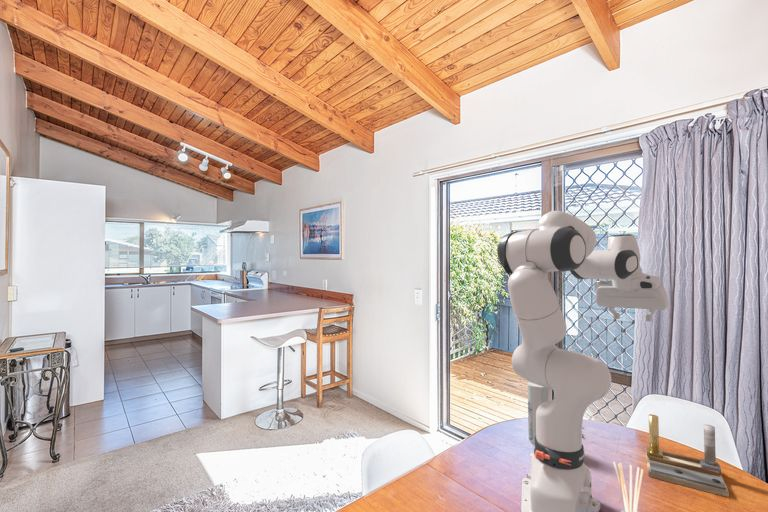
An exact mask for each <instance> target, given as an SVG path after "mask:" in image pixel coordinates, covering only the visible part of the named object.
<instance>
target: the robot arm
mask: <svg viewBox="0 0 768 512" xmlns="http://www.w3.org/2000/svg"><path fill="white" fill-rule="evenodd" d="M596 244H597V235H596V232H595V230H594V229H593V228H592V227H591V226H590V225H589V224H588V223H586V222H585V221H583V219H580V218H578V217H577V216H575V215H572V214H570V213H569V212H564V211H561V210H550V211H548V212H546V213H545V214H543V215H542V216H541V217H540V218H539V220H538V222H537V223H536V228H535V229H527V230H522V231H513V232H510V233H507V234H505V235H503V236H501V238H500V240H499V242H498V245H497V249H496V251H497V253H496V254H497V258H498V260H499V263H500V264H501V267H502V268H503V270H504V271H505V273H506V274H507V275H508V276H509V277H508V280H507V289H508V296H509V301H510V303H511V309H512V311H513V314H514V316H515V319H516V322H517V323H516V324H518V325H517V326H518V329H519V331H520V334H521V344H519V345H518V346H517V347H516V348H515V349H514V350H513V353H512V355H511V367H512V369H513V371H514V373H515V374H516V375H517V376H518V377H520V378H522V379H523V380H526V381H527V382H531V383H534V384H537V385H540V386H543V387H547V388H548V389H551V390H552V391H553V394H554V395H553V399H552V400H548V401H547V402H544V403H542V404H541V405H540V406H539V407H538V409H537V411H536V436H535V440H534V445H533V452H531V453H530V455H529V457H530V458H529V459H530V460H529V465H530V473H529V472H528V473H527V474H526V477H523V478H522V480H521V496H520V497H521V499H520V500H521V501H520V502H521V503H520V512H580V511H582V510H590V511H595V512H596V511H598V512H599V511H600V509H601V503H600V501H599V500H598V499H596V498H595V497H594V496H593V490H592V489H593V487H592V486H593V485H592V472H591V469H590V468H589V467H588V466H587V465H586V464H585V449H584V445H583V442H582V441H583V437H582V435H583V434H582V432H583V419H584V416H585V414H586V411H587V409H588V408H589V407H590V405H592V404H593V403H595V402H596V401H599V400H601V399H603V398H604V397H605V396H607V394H608V393H609V391H610V389H611V387H612V374H611V371H610V369H609V367H608V366H607V364H606V363H605V362H604V361H602V360H600V359H598V358H596V357H593V356H591V355H589V354H585V353H582V352H577V351H572V350H568V349H563V348H560V347H558V346H557V345H556V344H558V343H561V341H562V340H563V339H564V338H565V336H566V333H567V329H568V328H567V323H566V320H565V318H564V315H563V311H562V308H561V305H560V302H559V300H558V296H557V294H556V291H555V289H554V288H553V285H552V284H551V281H550V280H549V273H550V272H551V273H552V272H563V273H564V272H570V273H571V275H572V276H573V277H574V278H576V279H578V280H597V281H596V282H594V285H593V286H594V287H593V288H594V292H595V293H596V294H595V299H596V301H595V303H596V305H597V306H598V307H603V308H608V311H609V312H610V313H611V314H612V315H613V320H620V318H621V316H620V315H621V314H620V312H617V311H616V309H615V308H619V309H620V308H621V309H638V310H639V309H641V310H648V312H649V314H646V315H645V322H649V323H650V322H653V320H654V319H653V315H654V314H655V313H656V311H657V310H658V311H665V310H666V309H667V308H668V307H669V304H670V303H669V297H668V294H667V291H666V288H665V287H664V286H663V285H661V284H662V279H661V277H659V276H655V275H651V274H648V273H643V269H642V267H641V253H640V247H639V244H638V240H637V238H636V236H635V235H634V234H631V233H624V234H612V235H610V236H609V235H608V237H607V248H606V249H595V247H596V246H597V245H596Z"/></svg>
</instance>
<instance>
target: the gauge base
mask: <svg viewBox="0 0 768 512" xmlns="http://www.w3.org/2000/svg"><path fill="white" fill-rule="evenodd" d="M703 443H704V444H703V449H704V450H703V451H704V452H703V453H704V456H703V458H702V457H701V458H695V457H692V456H687V455H683V454H680V453H679V454H677V453H674V452H670V451H664V450H662V453H663V458H659V457H654V456H650V455H649V457H647V454H646V453H645V458H646V465H647V475H648V477H650V478H654V479H657V480H661V481H665V482H668V483H669V482H670V483H672V484H677V485H681V486H683V487H688V488H692V489H696V490H700V491H702V492H703V491H704V492H707V493H712V494H715V495H719V496H723V497H726V498H729V497H730V495H729V494H730V493H729V489H728V487H727V485H726V483H725V480H724V478H723V476H722V468H721V466H720V464H719V462H718V461H716V459H717V458H716V457H717V456H716V455H717V454H716V427H715V426H713V425H711V424H703Z"/></svg>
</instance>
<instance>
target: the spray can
mask: <svg viewBox="0 0 768 512" xmlns="http://www.w3.org/2000/svg"><path fill="white" fill-rule="evenodd" d="M547 401H549V388H547V387H543V386H540V385H537V384H534V383H531V382H529V381H527V412H528V413H527V415H528V418H527V419H528V442H529V441H530V442H531V443H530V442H529V443H530V444H531V445H533V446H534V440H535V436H536V411H537V409H538V407H539V406H540V405H541V404H542V403H544V402H547Z"/></svg>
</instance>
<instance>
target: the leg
mask: <svg viewBox="0 0 768 512" xmlns="http://www.w3.org/2000/svg"><path fill="white" fill-rule="evenodd" d="M659 427H660V426H659V415H656V414H648V435H649V437H648V439H649V440H648V443H649V444H648V445H649V446H648V445H646V446H645V455H646V454H647V457H649V455H650V456H654V457H659V458H663V453H662V451H663V449H660V435H659V433H660V430H659V429H660V428H659Z"/></svg>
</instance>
